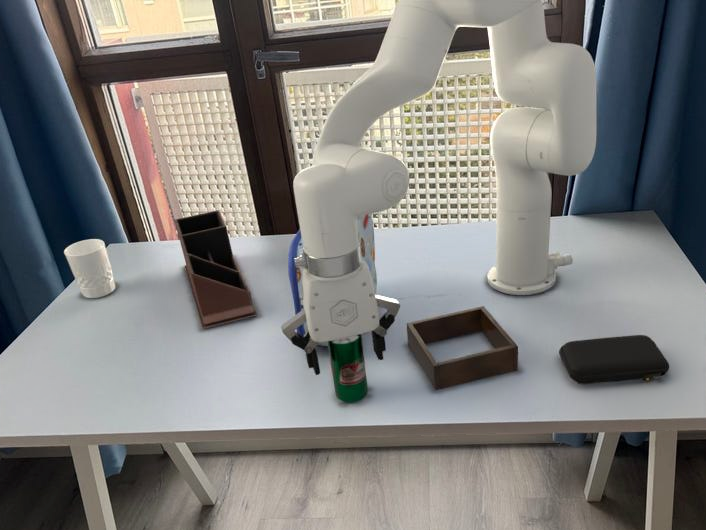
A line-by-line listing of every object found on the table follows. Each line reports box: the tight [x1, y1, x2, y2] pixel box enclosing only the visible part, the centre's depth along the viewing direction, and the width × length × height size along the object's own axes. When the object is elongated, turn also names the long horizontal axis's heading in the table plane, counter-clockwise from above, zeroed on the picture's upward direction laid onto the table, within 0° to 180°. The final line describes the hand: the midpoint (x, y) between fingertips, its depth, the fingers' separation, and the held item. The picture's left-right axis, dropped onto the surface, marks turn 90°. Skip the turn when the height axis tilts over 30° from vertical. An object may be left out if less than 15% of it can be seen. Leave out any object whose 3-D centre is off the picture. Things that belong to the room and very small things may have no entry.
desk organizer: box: [173, 209, 259, 330], centre depth 139 cm, size 10×29×11 cm, turn 19°
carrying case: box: [558, 334, 670, 385], centre depth 106 cm, size 11×3×15 cm
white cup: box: [63, 238, 116, 299], centre depth 144 cm, size 8×8×10 cm
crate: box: [405, 305, 519, 391], centre depth 112 cm, size 14×14×4 cm
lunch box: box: [287, 213, 378, 347], centre depth 121 cm, size 28×10×22 cm, turn 168°
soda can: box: [327, 334, 369, 404], centre depth 105 cm, size 5×5×12 cm
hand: (347, 362), depth 105 cm, fingers open, 9 cm apart
